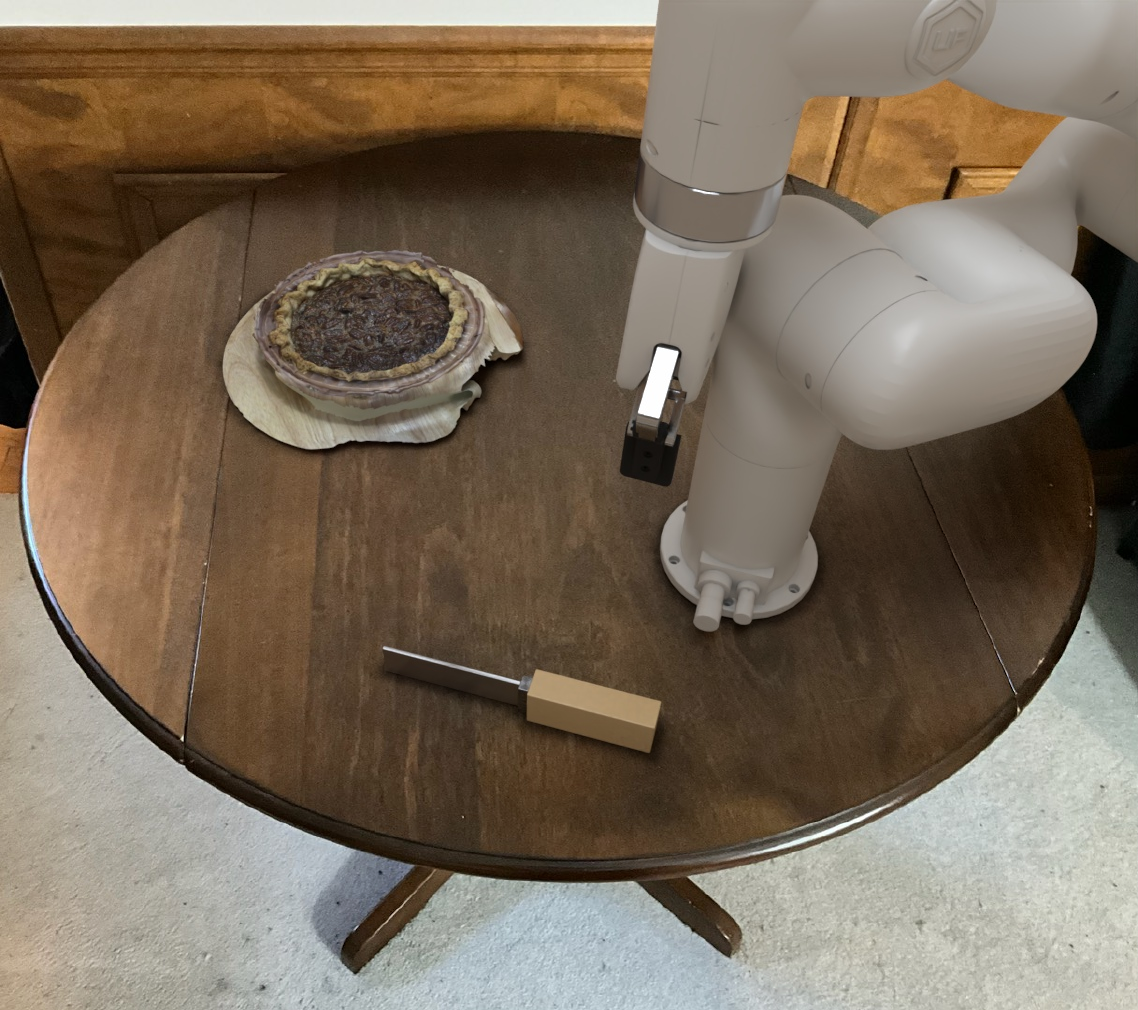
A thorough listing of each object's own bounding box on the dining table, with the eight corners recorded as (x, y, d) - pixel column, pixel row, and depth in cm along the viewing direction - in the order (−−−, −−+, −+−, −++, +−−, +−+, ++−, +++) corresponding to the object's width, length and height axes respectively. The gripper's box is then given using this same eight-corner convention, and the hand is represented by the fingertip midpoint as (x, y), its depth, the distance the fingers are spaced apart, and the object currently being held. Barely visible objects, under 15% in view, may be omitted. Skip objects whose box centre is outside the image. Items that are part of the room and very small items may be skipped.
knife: (656, 726, 74) (661, 701, 71) (649, 754, 72) (654, 728, 70) (392, 657, 77) (388, 629, 74) (381, 682, 75) (376, 655, 73)
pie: (197, 454, 89) (183, 412, 86) (250, 261, 107) (240, 220, 103) (523, 454, 91) (524, 413, 87) (522, 264, 109) (522, 223, 105)
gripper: (674, 96, 60) (639, 331, 72) (592, 262, 48) (568, 506, 61) (804, 123, 59) (745, 357, 71) (750, 299, 47) (692, 539, 60)
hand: (663, 425), depth 66 cm, fingers open, 9 cm apart
